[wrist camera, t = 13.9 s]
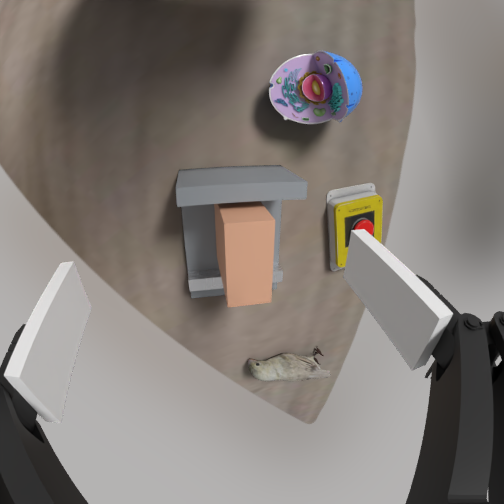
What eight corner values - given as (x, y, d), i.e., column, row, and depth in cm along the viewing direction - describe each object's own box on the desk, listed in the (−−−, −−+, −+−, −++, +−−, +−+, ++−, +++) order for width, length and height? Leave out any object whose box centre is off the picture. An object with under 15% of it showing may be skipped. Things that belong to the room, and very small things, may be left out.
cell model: (251, 68, 32) (270, 55, 23) (329, 52, 32) (365, 41, 24) (273, 134, 37) (298, 142, 28) (347, 114, 37) (385, 118, 29)
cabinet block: (213, 191, 37) (224, 223, 27) (250, 188, 38) (275, 220, 28) (217, 261, 42) (228, 312, 32) (250, 258, 43) (270, 307, 33)
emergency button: (388, 188, 40) (384, 268, 47) (372, 181, 43) (371, 257, 51) (337, 199, 39) (339, 283, 46) (324, 190, 42) (328, 270, 50)
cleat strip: (187, 271, 42) (188, 280, 40) (278, 262, 45) (282, 270, 43) (189, 282, 43) (189, 291, 41) (277, 273, 46) (282, 281, 43)
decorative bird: (248, 349, 54) (256, 378, 48) (320, 342, 58) (334, 367, 52) (245, 366, 57) (253, 394, 50) (314, 359, 61) (326, 383, 54)
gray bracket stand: (179, 169, 36) (175, 188, 27) (280, 165, 39) (307, 181, 30) (191, 293, 45) (193, 336, 37) (274, 285, 48) (293, 323, 39)
